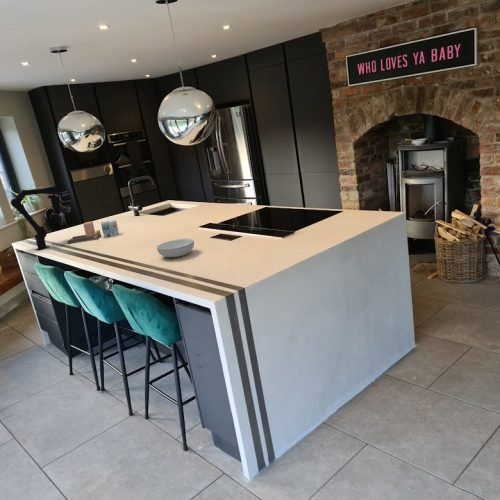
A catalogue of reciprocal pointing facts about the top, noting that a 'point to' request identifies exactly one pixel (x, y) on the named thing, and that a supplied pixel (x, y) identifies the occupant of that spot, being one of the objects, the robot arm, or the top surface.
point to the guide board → (85, 238)
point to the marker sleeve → (89, 229)
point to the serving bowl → (175, 247)
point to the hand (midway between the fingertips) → (61, 225)
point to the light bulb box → (110, 228)
